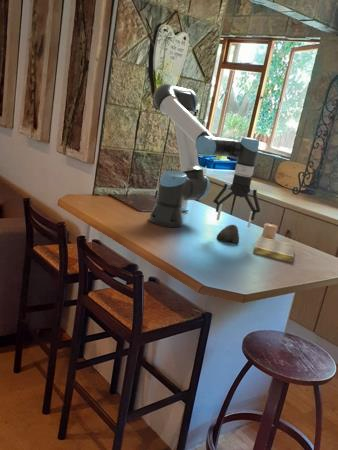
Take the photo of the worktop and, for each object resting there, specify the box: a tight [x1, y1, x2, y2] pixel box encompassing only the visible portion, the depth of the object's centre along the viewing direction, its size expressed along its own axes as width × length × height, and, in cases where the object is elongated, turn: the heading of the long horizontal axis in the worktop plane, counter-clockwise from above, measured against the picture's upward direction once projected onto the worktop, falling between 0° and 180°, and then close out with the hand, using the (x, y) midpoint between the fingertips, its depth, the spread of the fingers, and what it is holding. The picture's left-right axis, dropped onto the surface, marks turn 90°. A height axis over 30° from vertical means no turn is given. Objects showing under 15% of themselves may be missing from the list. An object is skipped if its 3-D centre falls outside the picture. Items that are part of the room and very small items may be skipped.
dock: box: [252, 235, 295, 263], centre depth 189 cm, size 16×18×3 cm
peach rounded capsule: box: [261, 222, 279, 240], centre depth 205 cm, size 6×6×7 cm
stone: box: [216, 224, 240, 244], centre depth 193 cm, size 10×8×10 cm
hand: (233, 223), depth 192 cm, fingers open, 13 cm apart
